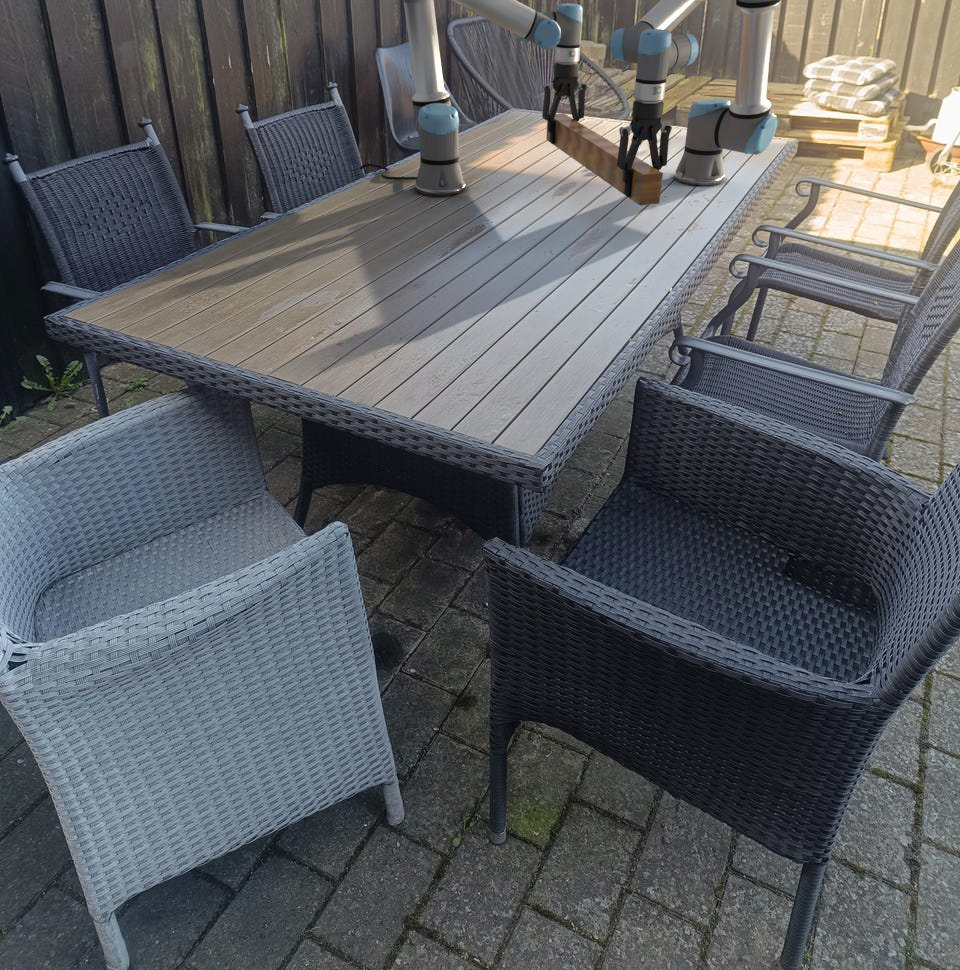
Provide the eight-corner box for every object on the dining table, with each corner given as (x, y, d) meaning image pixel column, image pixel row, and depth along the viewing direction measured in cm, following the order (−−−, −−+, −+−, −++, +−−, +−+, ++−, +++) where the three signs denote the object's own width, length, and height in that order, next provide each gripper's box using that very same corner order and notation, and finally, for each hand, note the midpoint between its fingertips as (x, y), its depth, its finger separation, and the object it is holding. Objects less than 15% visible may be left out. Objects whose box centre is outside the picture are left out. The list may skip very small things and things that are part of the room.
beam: (546, 139, 274) (547, 114, 269) (562, 138, 275) (564, 113, 271) (639, 205, 217) (642, 174, 212) (659, 203, 218) (663, 173, 214)
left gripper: (541, 65, 251) (537, 146, 264) (600, 63, 255) (593, 143, 268) (533, 61, 256) (530, 141, 270) (591, 59, 260) (584, 138, 274)
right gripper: (620, 105, 204) (611, 202, 218) (689, 101, 208) (677, 195, 222) (607, 99, 210) (600, 193, 223) (676, 95, 214) (664, 187, 228)
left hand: (561, 142), depth 269 cm, fingers closed on beam, 6 cm apart
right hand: (638, 194), depth 223 cm, fingers closed on beam, 6 cm apart
